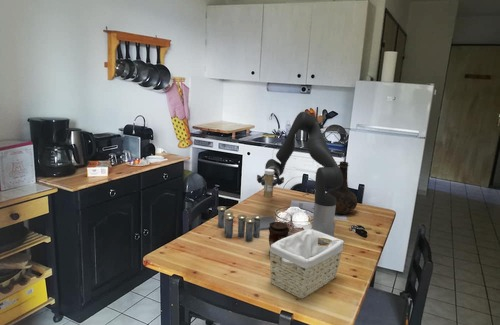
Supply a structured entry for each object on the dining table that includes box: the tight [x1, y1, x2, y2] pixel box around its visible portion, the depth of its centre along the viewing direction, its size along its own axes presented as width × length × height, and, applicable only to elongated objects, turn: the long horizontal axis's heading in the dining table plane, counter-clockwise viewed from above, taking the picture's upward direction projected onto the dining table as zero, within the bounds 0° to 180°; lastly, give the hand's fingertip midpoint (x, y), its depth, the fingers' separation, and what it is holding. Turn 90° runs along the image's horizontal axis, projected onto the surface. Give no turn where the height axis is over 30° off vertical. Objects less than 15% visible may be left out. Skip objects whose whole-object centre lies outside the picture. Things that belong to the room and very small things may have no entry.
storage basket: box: [269, 228, 345, 299], centre depth 129 cm, size 24×16×15 cm
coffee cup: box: [268, 221, 290, 256], centre depth 147 cm, size 9×8×13 cm
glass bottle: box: [325, 161, 358, 215], centre depth 200 cm, size 18×18×28 cm
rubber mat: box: [252, 215, 276, 231], centre depth 179 cm, size 13×13×1 cm
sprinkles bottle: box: [263, 169, 274, 199], centre depth 175 cm, size 5×5×14 cm
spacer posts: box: [216, 205, 263, 243], centre depth 166 cm, size 21×16×10 cm
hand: (268, 184), depth 172 cm, fingers closed on sprinkles bottle, 4 cm apart
